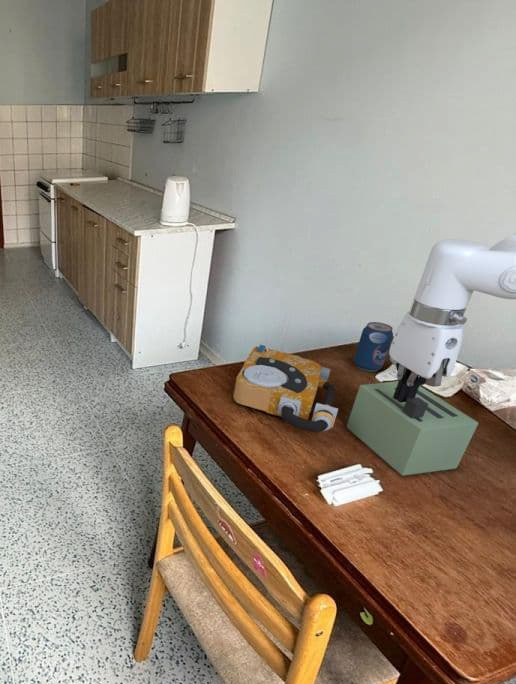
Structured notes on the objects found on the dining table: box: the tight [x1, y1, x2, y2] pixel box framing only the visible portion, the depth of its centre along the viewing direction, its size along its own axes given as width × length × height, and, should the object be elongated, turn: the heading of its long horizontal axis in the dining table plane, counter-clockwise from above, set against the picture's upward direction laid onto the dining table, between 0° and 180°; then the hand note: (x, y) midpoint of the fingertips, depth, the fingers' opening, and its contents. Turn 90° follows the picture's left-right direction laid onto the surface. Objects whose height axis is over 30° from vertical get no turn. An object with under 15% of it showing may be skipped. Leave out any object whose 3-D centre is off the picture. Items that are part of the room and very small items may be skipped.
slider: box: [402, 397, 428, 418], centre depth 89 cm, size 2×2×3 cm
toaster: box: [346, 380, 479, 476], centre depth 96 cm, size 12×16×11 cm
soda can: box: [353, 321, 394, 372], centre depth 126 cm, size 7×7×12 cm
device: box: [233, 344, 339, 433], centre depth 112 cm, size 23×8×30 cm
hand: (402, 399), depth 92 cm, fingers closed
